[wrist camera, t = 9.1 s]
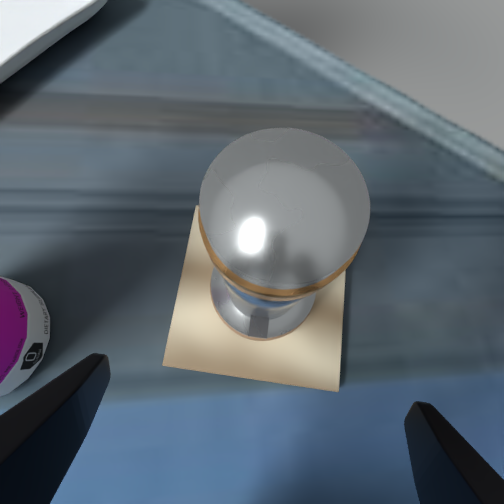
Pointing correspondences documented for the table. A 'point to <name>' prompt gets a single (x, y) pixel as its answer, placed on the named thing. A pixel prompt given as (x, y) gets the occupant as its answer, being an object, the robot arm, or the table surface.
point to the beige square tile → (249, 348)
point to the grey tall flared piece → (279, 226)
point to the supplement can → (20, 333)
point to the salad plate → (37, 28)
